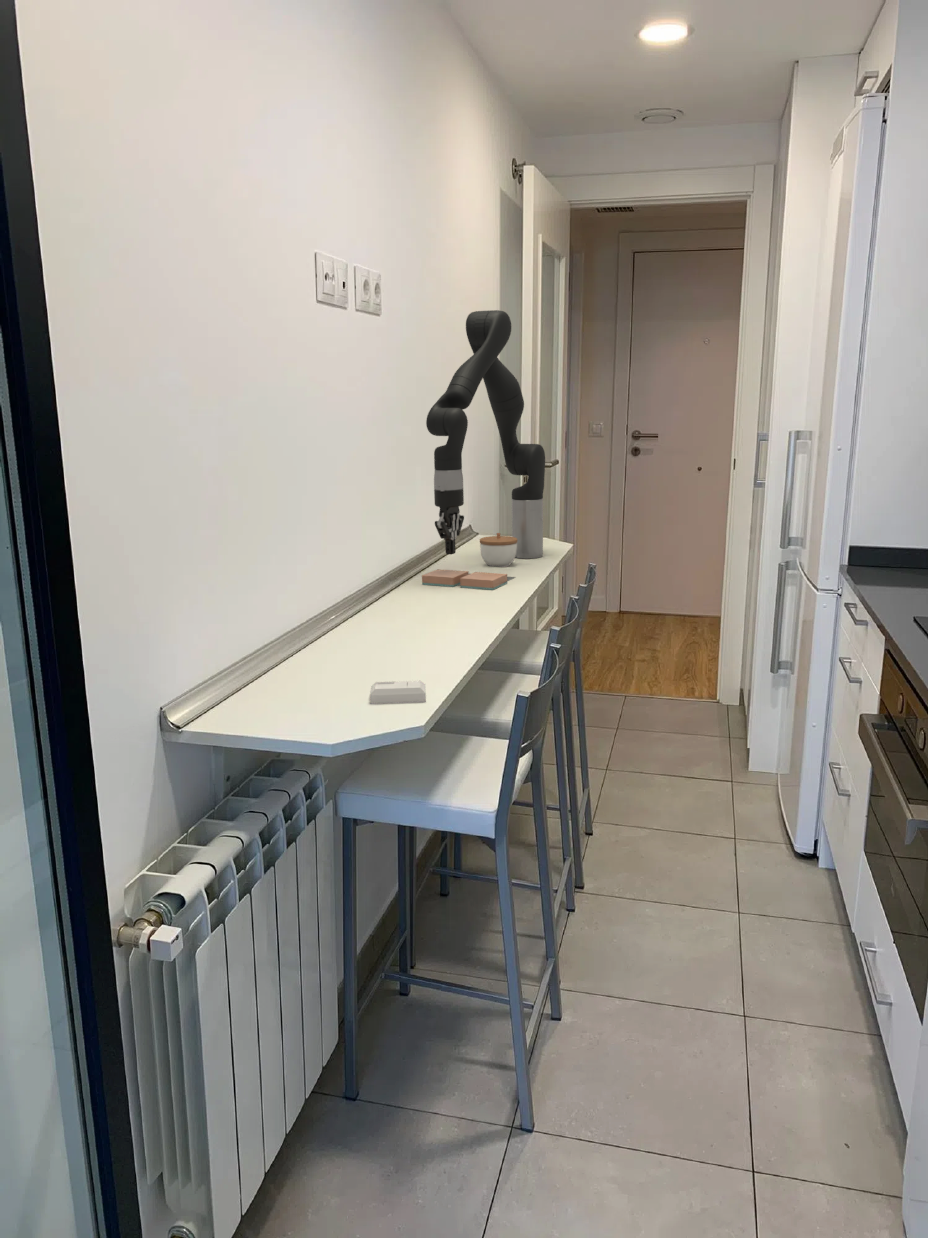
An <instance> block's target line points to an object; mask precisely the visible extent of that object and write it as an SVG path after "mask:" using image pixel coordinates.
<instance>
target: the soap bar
mask: <svg viewBox="0 0 928 1238" xmlns="http://www.w3.org/2000/svg"><path fill="white" fill-rule="evenodd" d="M369 692H370V693H369V704H395V703H397V704H398V703H399V704H400V703H401V704H403V703H417V702H418V703H425V702H426V701H427V700H426V699H427V695H426V694H427V693H426V683H425V682H423V681H422V680H398V681H393V680H392V681H376V682H374V683H373V684H372V685H370V691H369Z"/></svg>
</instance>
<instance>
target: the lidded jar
mask: <svg viewBox="0 0 928 1238" xmlns="http://www.w3.org/2000/svg"><path fill="white" fill-rule="evenodd" d="M479 544H480V545H479V547H480V548H479V549H480V555H481V558H482V560H483V562H485V564H487V565H488V566H489V567H490V566H491V567H503V568H507V567H510V565H511V564H512V563H513V561H514V560H515V558H516V557H515V556H516V552H517V538H515V537H512V536H508V535H506V536H505V535H501V533H500V532H497V533H496V535H492V536H485V537H481V538H479Z"/></svg>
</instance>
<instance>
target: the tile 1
mask: <svg viewBox="0 0 928 1238" xmlns="http://www.w3.org/2000/svg"><path fill="white" fill-rule="evenodd" d="M469 574H470V573H469V571H468V570H467V571H465V570H453V569H435V570H432V571H430V572H427V573H424V574H422V575H421V585H423V586H424V585H426V586H436V587H437V586H438V587H449V588H451V587H452V588H455V587H458V586H457V585H459V584H460V578H462V577H464V576H467V575H469Z"/></svg>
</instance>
